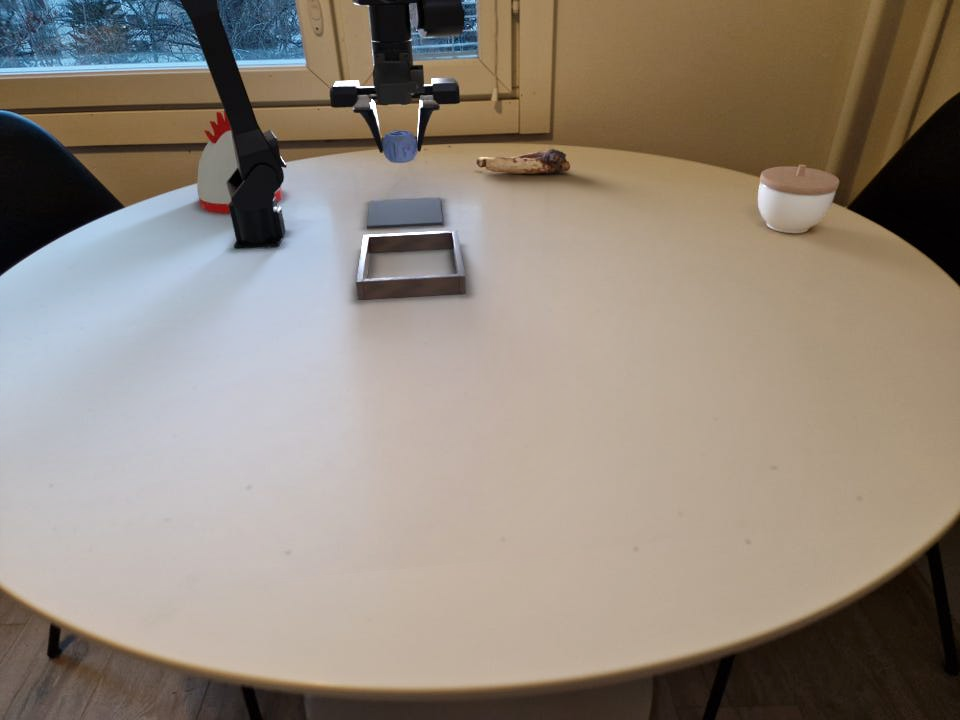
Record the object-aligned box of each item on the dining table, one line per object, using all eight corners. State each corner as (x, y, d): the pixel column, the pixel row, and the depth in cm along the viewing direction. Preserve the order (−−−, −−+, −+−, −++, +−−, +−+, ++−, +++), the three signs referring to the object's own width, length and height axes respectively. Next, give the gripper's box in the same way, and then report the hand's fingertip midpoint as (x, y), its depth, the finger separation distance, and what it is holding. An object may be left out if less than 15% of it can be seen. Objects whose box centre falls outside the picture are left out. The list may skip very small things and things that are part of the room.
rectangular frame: (358, 299, 82) (355, 282, 80) (365, 251, 95) (363, 235, 93) (465, 293, 82) (465, 276, 81) (458, 246, 96) (457, 230, 94)
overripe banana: (568, 166, 130) (479, 163, 132) (570, 142, 128) (479, 140, 129) (570, 179, 122) (475, 176, 124) (572, 153, 120) (475, 150, 121)
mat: (367, 228, 102) (366, 225, 102) (370, 203, 112) (370, 200, 112) (443, 224, 103) (442, 222, 103) (439, 199, 113) (439, 197, 113)
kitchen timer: (298, 195, 117) (283, 107, 109) (237, 218, 107) (215, 124, 99) (246, 183, 123) (228, 100, 115) (183, 204, 113) (159, 115, 105)
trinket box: (748, 234, 98) (762, 172, 93) (752, 210, 106) (764, 152, 101) (826, 243, 94) (845, 179, 89) (824, 218, 103) (840, 158, 98)
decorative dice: (382, 160, 101) (380, 133, 99) (402, 154, 103) (400, 128, 101) (399, 164, 99) (397, 137, 97) (419, 159, 101) (417, 132, 99)
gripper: (318, 49, 85) (334, 168, 93) (460, 45, 86) (463, 164, 94) (327, 39, 94) (341, 148, 102) (455, 36, 95) (459, 144, 104)
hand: (400, 151), depth 100 cm, fingers closed on decorative dice, 5 cm apart
